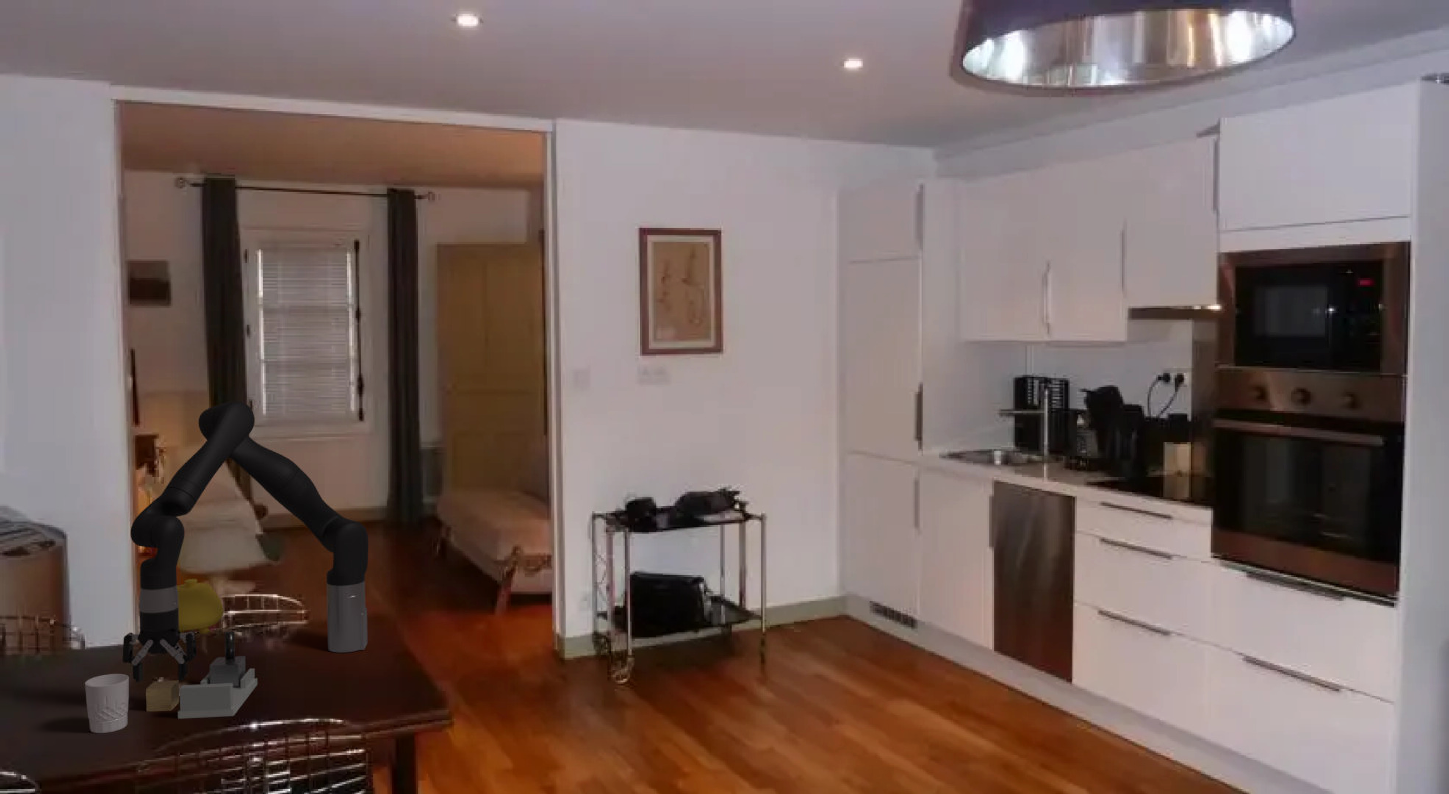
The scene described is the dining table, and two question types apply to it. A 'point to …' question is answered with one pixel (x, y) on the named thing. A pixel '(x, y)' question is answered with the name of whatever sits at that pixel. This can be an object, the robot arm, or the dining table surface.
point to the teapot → (198, 606)
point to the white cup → (107, 702)
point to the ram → (228, 664)
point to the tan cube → (162, 695)
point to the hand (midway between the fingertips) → (160, 680)
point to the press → (215, 697)
